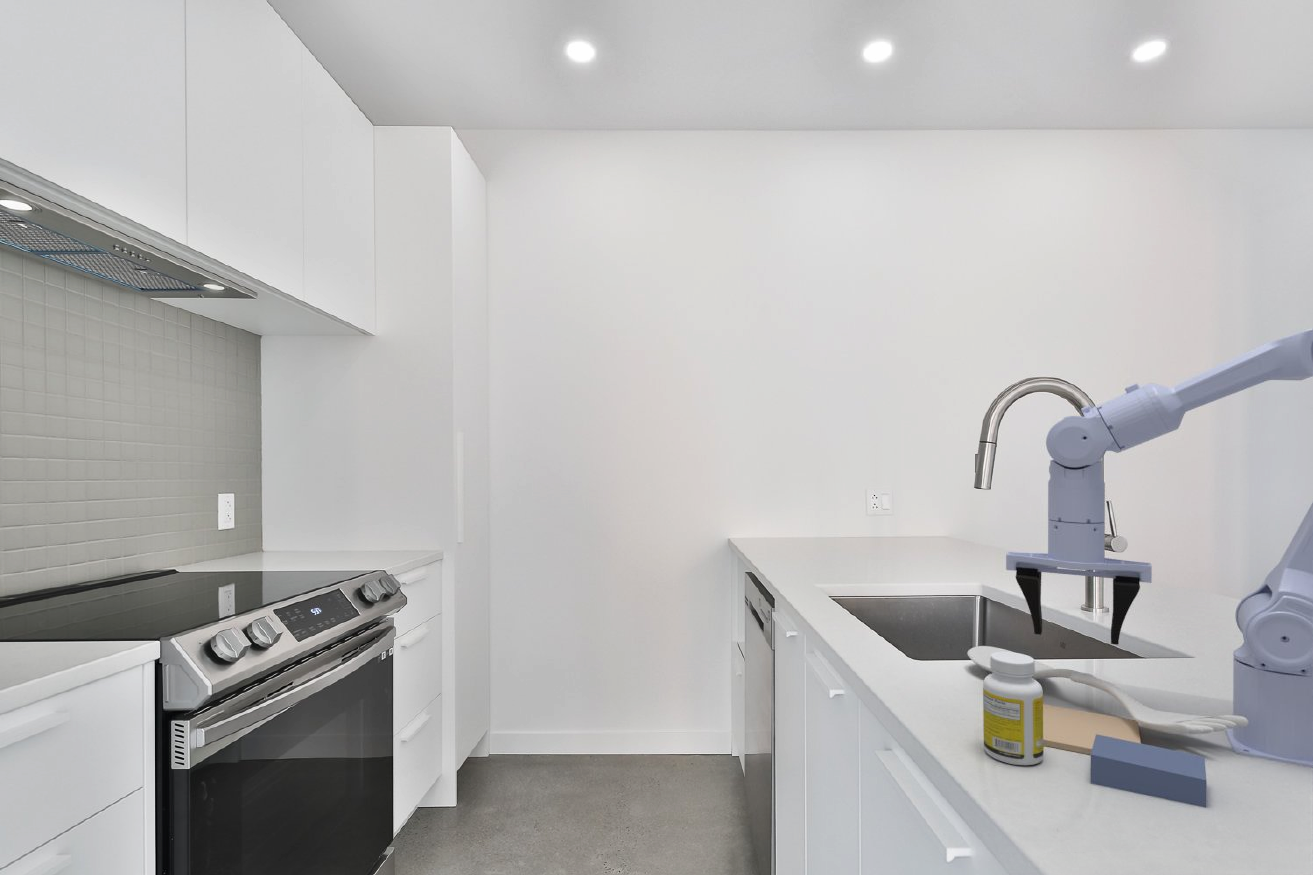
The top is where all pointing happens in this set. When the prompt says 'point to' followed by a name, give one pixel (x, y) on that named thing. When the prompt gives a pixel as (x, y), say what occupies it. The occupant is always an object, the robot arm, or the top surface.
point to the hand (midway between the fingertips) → (1075, 637)
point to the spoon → (1126, 700)
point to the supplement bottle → (1013, 710)
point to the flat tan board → (1083, 728)
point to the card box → (1148, 770)
